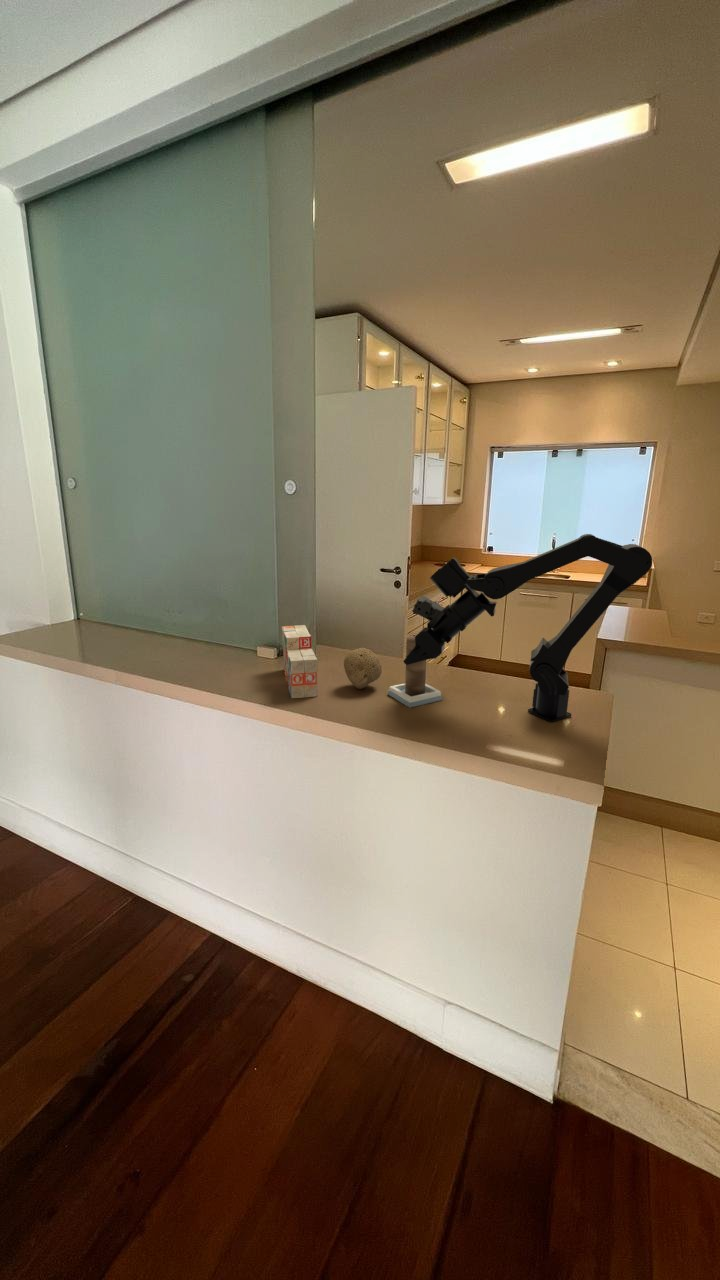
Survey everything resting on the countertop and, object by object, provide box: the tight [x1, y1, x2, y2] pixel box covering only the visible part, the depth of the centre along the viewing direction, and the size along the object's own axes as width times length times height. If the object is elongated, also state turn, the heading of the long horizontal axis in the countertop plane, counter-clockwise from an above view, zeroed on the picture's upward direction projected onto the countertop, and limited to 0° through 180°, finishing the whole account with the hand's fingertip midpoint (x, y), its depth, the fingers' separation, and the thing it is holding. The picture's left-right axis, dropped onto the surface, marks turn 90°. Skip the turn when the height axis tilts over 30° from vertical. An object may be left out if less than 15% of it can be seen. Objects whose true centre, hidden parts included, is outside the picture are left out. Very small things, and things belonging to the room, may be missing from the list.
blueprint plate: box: [387, 683, 443, 708], centre depth 119 cm, size 9×9×2 cm
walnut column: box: [405, 635, 427, 696], centre depth 117 cm, size 5×5×13 cm
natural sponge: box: [343, 647, 383, 690], centre depth 123 cm, size 9×9×10 cm
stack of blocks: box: [281, 624, 318, 699], centre depth 127 cm, size 21×6×12 cm, turn 13°
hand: (409, 657), depth 117 cm, fingers open, 9 cm apart
